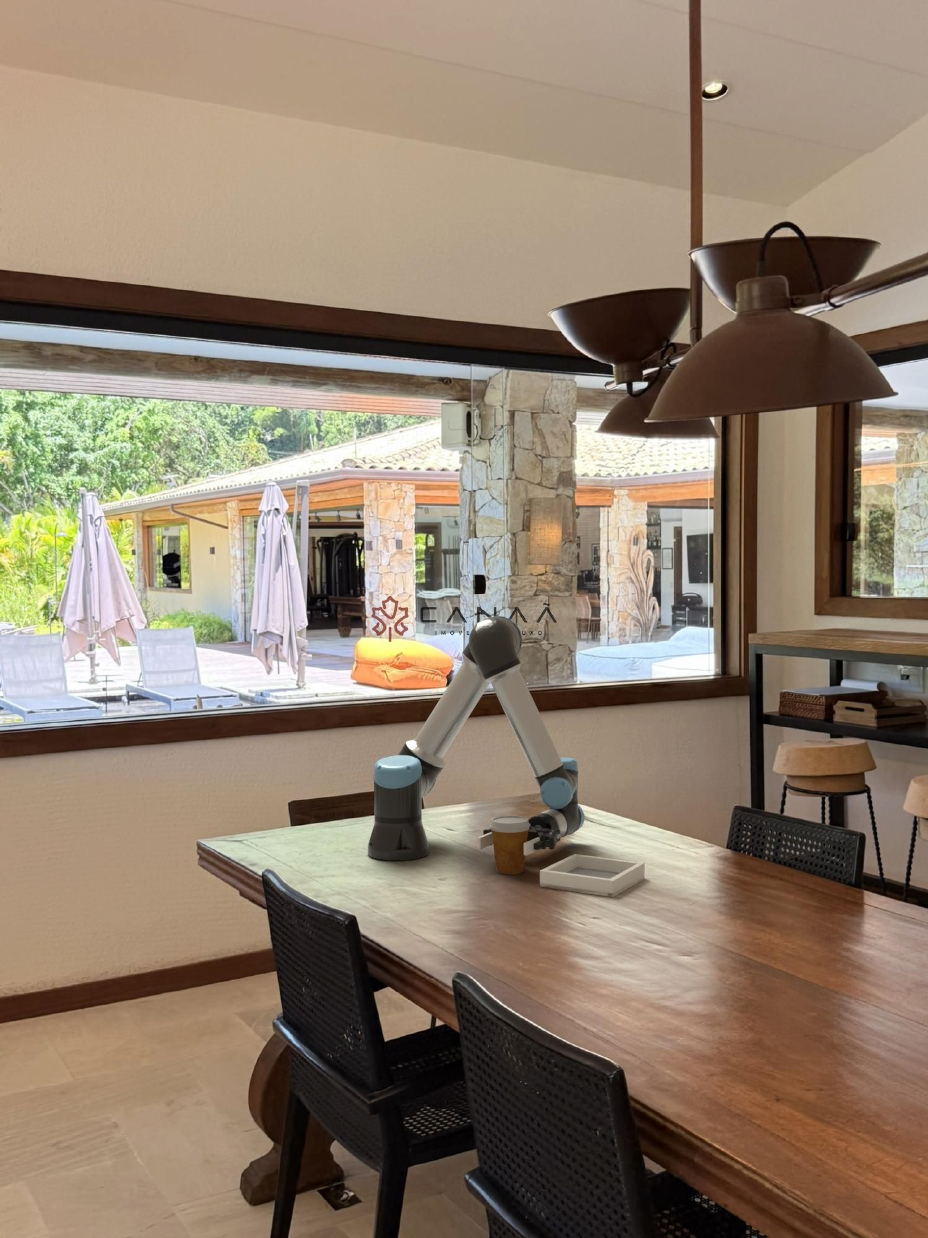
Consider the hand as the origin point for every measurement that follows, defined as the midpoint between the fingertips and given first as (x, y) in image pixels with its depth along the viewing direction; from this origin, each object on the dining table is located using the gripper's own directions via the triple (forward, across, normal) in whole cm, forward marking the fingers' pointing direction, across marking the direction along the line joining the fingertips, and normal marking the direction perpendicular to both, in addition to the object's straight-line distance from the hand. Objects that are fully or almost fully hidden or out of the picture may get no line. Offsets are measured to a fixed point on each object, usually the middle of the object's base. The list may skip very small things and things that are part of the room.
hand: (501, 846), depth 265 cm
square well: (-4, -21, -6) cm, 22 cm away
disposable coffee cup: (-4, 0, -7) cm, 8 cm away
